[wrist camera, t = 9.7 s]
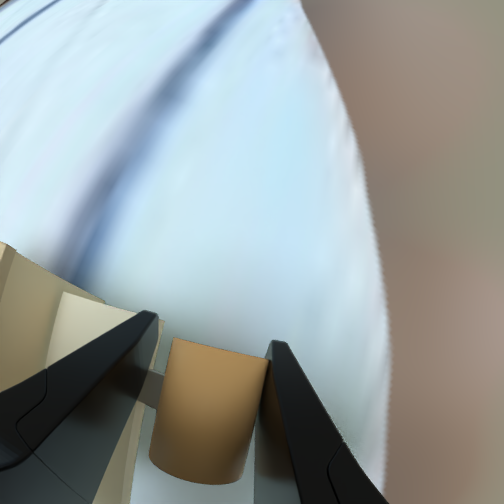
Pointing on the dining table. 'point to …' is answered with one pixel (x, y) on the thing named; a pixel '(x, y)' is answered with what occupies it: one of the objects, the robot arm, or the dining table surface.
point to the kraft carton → (27, 314)
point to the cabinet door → (173, 403)
